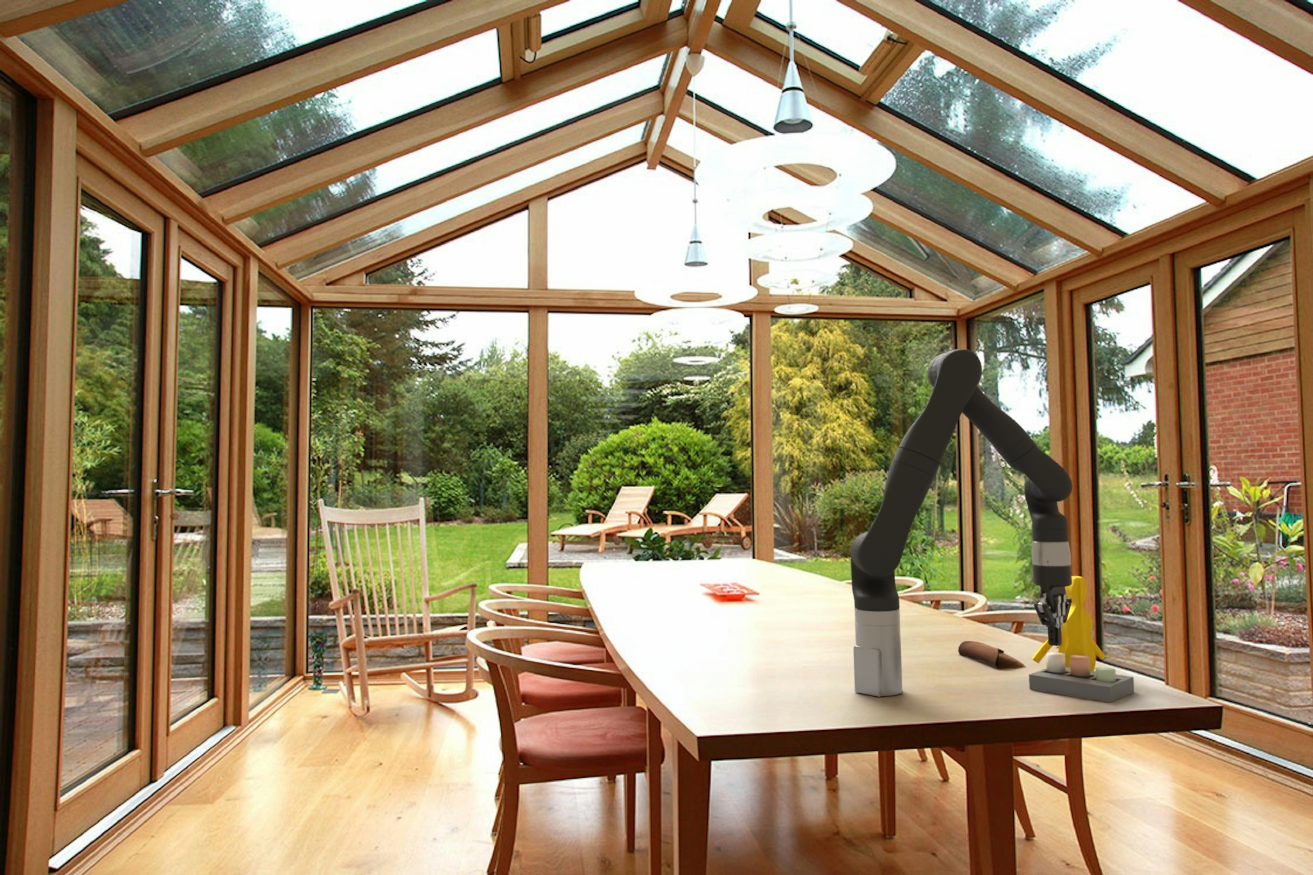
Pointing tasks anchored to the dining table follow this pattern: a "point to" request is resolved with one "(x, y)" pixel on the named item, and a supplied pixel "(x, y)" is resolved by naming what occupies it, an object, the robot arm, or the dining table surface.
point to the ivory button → (1055, 662)
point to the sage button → (1105, 674)
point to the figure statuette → (1075, 628)
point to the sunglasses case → (989, 655)
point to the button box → (1081, 685)
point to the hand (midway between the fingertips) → (1055, 644)
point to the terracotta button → (1080, 665)
